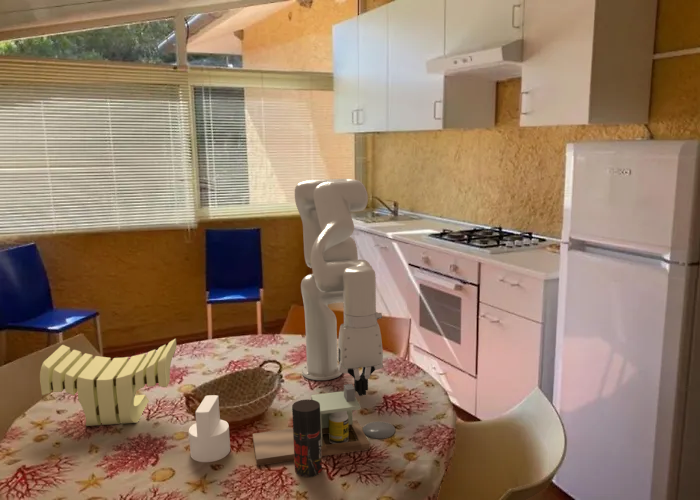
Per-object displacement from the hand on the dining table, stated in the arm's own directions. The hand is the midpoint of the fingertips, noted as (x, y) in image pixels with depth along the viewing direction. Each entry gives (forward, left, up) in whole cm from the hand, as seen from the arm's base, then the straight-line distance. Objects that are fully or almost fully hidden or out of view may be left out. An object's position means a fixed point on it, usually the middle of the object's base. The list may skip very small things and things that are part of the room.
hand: (361, 393), depth 139 cm
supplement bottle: (0, -6, -12) cm, 13 cm away
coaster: (-2, +5, -11) cm, 12 cm away
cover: (0, -6, -10) cm, 12 cm away
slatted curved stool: (-29, -60, -12) cm, 67 cm away
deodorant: (+11, -15, -12) cm, 22 cm away
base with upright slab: (-3, -36, -12) cm, 38 cm away
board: (0, -13, -11) cm, 17 cm away
